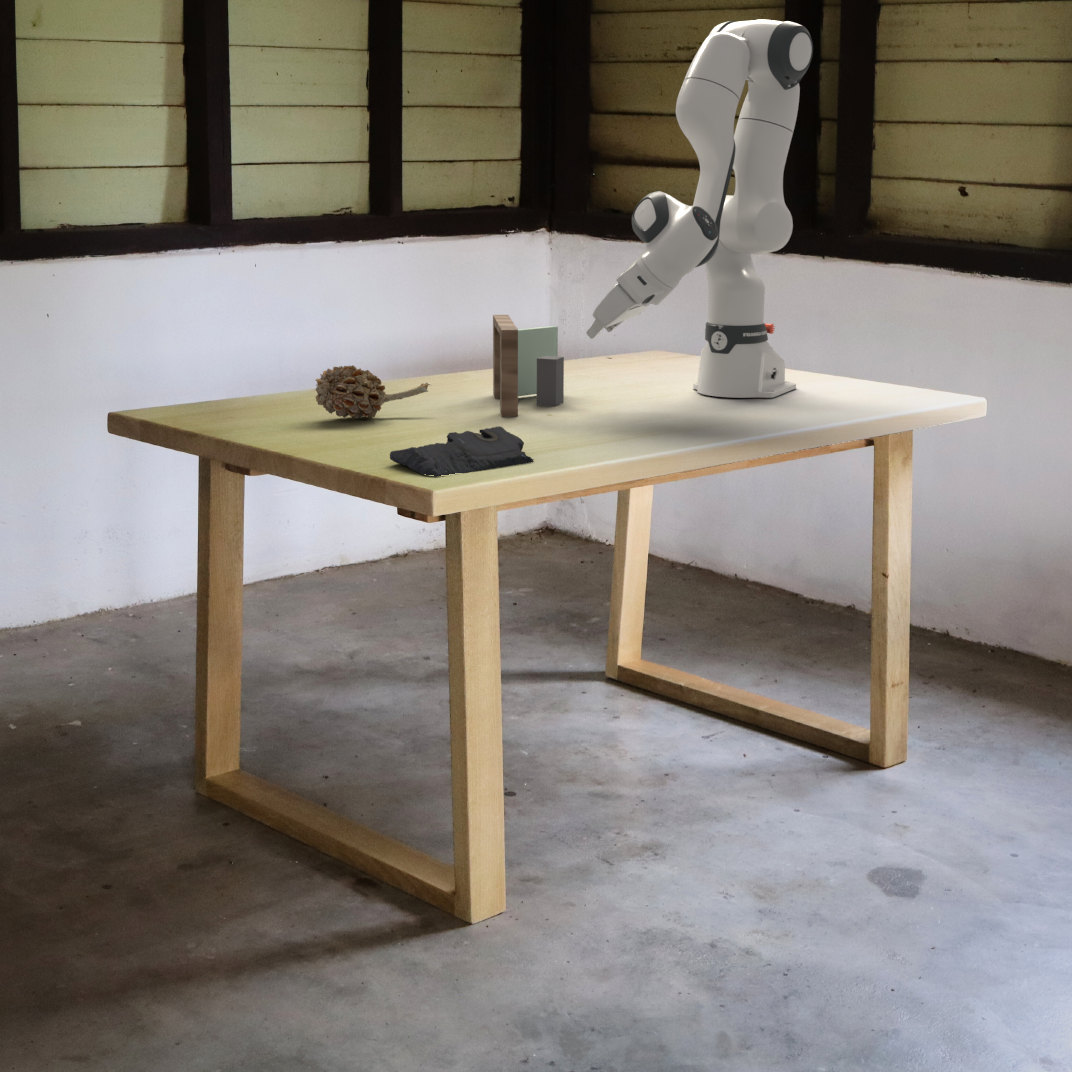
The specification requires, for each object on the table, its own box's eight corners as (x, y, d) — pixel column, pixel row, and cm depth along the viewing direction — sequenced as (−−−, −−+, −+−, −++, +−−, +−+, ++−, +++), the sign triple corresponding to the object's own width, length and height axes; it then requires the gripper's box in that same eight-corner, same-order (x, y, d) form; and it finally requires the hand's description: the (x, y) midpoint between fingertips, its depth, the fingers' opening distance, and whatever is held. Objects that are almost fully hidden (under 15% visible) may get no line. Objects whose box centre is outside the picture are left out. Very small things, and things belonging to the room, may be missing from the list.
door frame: (493, 395, 303) (492, 314, 299) (508, 394, 303) (508, 314, 299) (501, 416, 279) (501, 329, 275) (517, 416, 279) (517, 329, 275)
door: (507, 397, 297) (507, 331, 293) (498, 396, 299) (498, 330, 295) (557, 391, 305) (557, 326, 301) (548, 389, 307) (548, 325, 304)
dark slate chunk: (375, 465, 239) (375, 436, 238) (486, 448, 252) (486, 420, 251) (432, 482, 228) (431, 451, 226) (544, 463, 241) (544, 434, 240)
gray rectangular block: (544, 401, 296) (544, 355, 293) (563, 402, 294) (563, 356, 292) (536, 404, 292) (536, 358, 290) (555, 406, 291) (556, 359, 288)
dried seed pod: (325, 426, 269) (323, 371, 266) (307, 418, 277) (305, 364, 275) (438, 417, 279) (438, 363, 276) (418, 409, 287) (417, 357, 284)
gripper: (654, 264, 290) (606, 313, 296) (618, 274, 271) (568, 326, 278) (676, 288, 289) (628, 337, 295) (641, 300, 271) (591, 352, 277)
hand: (598, 332), depth 286 cm, fingers open, 8 cm apart
